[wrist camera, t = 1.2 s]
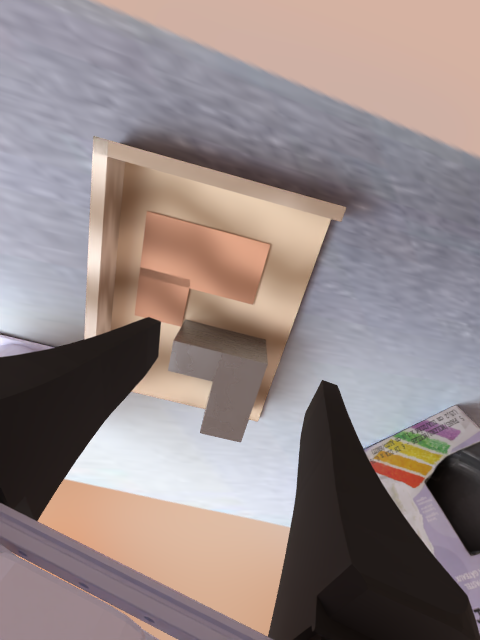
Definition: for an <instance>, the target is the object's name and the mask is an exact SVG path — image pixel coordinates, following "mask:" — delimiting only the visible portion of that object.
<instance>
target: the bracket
mask: <svg viewBox="0 0 480 640" xmlns="http://www.w3.org/2000/svg"><path fill="white" fill-rule="evenodd" d="M267 365H268V360H267V347H266V339H262V338H258V337H254V336H250V335H246V334H242V333H238V332H234V331H230V330H226V329H222V328H218V327H214V326H210V325H206V324H202V323H198V322H194V321H190V320H186V319H185V321H184V323H183V325H182V326H181V328H180V330H179V332H178V333H177V335H176V337H175V339H174V340H173V345H172V351H171V356H170V362H169V367H168V371H171V372H175V373H179V374H183V375H187V376H191V377H196V378H200V379H204V380H208V381H212V385H211V389H210V393H209V397H208V400H207V404H206V409H205V413H204V417H203V421H202V426H201V430H200V433H202V434H206V435H211V436H215V437H219V438H224V439H228V440H232V441H237V442H241V440H242V438H243V435H244V432H245V429H246V426H247V423H248V420H249V417H250V414H251V411H252V408H253V406H254V403H255V400H256V397H257V394H258V391H259V388H260V385H261V382H262V379H263V377H264V374H265V371H266V368H267Z"/></svg>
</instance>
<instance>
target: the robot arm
mask: <svg viewBox="0 0 480 640" xmlns="http://www.w3.org/2000/svg"><path fill="white" fill-rule="evenodd" d="M160 329H161V321H159V320H156V319H153V318H150V317H147V318H144V319H141V320H138V321H135V322H133V323H130V324H128V325H125V326H122V327H120V328H117V329H114V330H111V331H109V332H106V333H103V334H100V335H97V336H94V337H91V338H88V339H85V340H81V341H78V342H75V343H71V344H67V345H63V346H59V347H55V348H54V347H50V346H46V345H42V344H38V343H34V342H29V341H25V340H21V339H17V338H13V337H9V336H5V335H0V640H159V639H157V638H156V637H154V636H152V635H151V634H149V633H148V632H146V631H144V630H143V629H141V627H140V626H139V625H137V624H136V623H135V622H134V621H133V620H131V619H130V618H129V617H128V616H126V615H125V614H123V613H121V612H120V611H118V610H116V609H115V608H113V607H112V606H110V605H108V604H106V603H104V602H103V601H101V600H99V599H97V598H95V597H93V596H91V595H89V594H88V593H85V592H84V591H82V590H80V589H78V588H76V587H74V586H72V585H70V584H69V583H67V582H65V581H63V580H61V579H59V578H57V577H55V576H53V575H51V574H49V573H48V572H46V571H44V570H42V569H40V568H38V567H36V566H34V565H32V564H30V563H29V562H27V561H25V560H23V559H21V558H19V557H17V556H16V555H18V556H20V557H22V558H24V559H26V560H28V561H30V562H32V563H33V564H35V565H37V566H39V567H41V568H43V569H45V570H47V571H49V572H51V573H52V574H55V575H57V576H58V577H60V578H62V579H64V580H66V581H68V582H70V583H72V584H73V585H75V586H77V587H79V588H81V589H83V590H85V591H87V592H89V593H91V594H93V595H94V596H96V597H98V598H100V599H102V600H104V601H106V602H108V603H110V604H111V605H114V606H115V607H117V608H119V609H121V610H123V611H125V612H127V613H129V614H130V615H132V616H134V617H136V618H138V619H140V620H142V621H144V622H146V623H148V624H150V625H152V626H153V627H155V628H157V629H159V630H161V631H163V632H165V633H167V634H169V635H170V636H173V637H174V638H176V639H178V640H480V633H479V630H478V626H477V622H476V619H475V616H474V613H473V610H472V607H471V604H470V601H469V598H468V596H467V594H466V593H465V592H464V591H463V590H462V588H461V587H460V586H459V585H458V584H457V582H456V581H455V580H454V579H453V578H452V577H451V575H450V574H449V573H448V572H447V571H446V569H445V568H444V567H443V566H442V565H441V564H440V562H439V561H438V560H437V559H436V558H435V556H434V555H433V554H432V553H431V551H430V550H429V549H428V548H427V546H426V545H425V544H424V542H423V541H422V540H421V538H420V537H419V536H418V535H417V533H416V532H415V531H414V529H413V528H412V527H411V525H410V524H409V522H408V521H407V520H406V518H405V517H404V515H403V514H402V513H401V511H400V510H399V508H398V507H397V505H396V504H395V502H394V501H393V499H392V498H391V496H390V495H389V493H388V492H387V490H386V488H385V487H384V485H383V484H382V482H381V480H380V479H379V477H378V475H377V473H376V472H375V470H374V468H373V467H372V465H371V463H370V461H369V459H368V457H367V455H366V453H365V451H364V449H363V447H362V445H361V443H360V441H359V439H358V436H357V434H356V432H355V430H354V427H353V425H352V423H351V420H350V418H349V415H348V413H347V410H346V407H345V405H344V402H343V399H342V397H341V394H340V391H339V388H338V386H337V385H335V384H332V383H329V382H326V381H324V380H322V381H321V383H320V385H319V387H318V389H317V391H316V393H315V395H314V397H313V399H312V401H311V403H310V405H309V407H308V409H307V411H306V413H305V417H304V422H303V427H302V432H301V439H300V451H299V464H298V477H297V490H296V498H295V505H294V511H293V517H292V522H291V528H290V533H289V539H288V544H287V549H286V554H285V560H284V565H283V570H282V575H281V579H280V585H279V590H278V594H277V599H276V603H275V608H274V612H273V617H272V621H271V626H270V630H269V635H268V637H267V636H265V635H263V634H261V633H259V632H257V631H255V630H253V629H251V628H249V627H247V626H245V625H243V624H241V623H239V622H237V621H235V620H233V619H231V618H229V617H227V616H225V615H223V614H221V613H219V612H217V611H215V610H213V609H211V608H209V607H207V606H205V605H203V604H201V603H199V602H197V601H195V600H193V599H191V598H189V597H187V596H185V595H183V594H181V593H179V592H177V591H175V590H173V589H171V588H169V587H167V586H165V585H163V584H161V583H159V582H157V581H155V580H153V579H151V578H149V577H147V576H145V575H143V574H141V573H139V572H137V571H135V570H133V569H131V568H129V567H127V566H125V565H123V564H121V563H119V562H117V561H115V560H113V559H111V558H109V557H107V556H105V555H103V554H101V553H99V552H97V551H95V550H93V549H91V548H89V547H87V546H85V545H83V544H81V543H79V542H77V541H75V540H73V539H71V538H69V537H67V536H65V535H63V534H61V533H59V532H57V531H55V530H53V529H51V528H49V527H47V526H45V525H43V524H41V523H39V522H37V521H38V519H39V517H40V516H41V514H42V512H43V511H44V509H45V507H46V506H47V504H48V503H49V501H50V500H51V498H52V496H53V495H54V493H55V492H56V490H57V488H58V487H59V485H60V484H61V482H62V481H63V479H64V478H65V476H66V475H67V473H68V472H69V470H70V469H71V467H72V466H73V464H74V463H75V461H76V460H77V459H78V457H79V456H80V454H81V453H82V452H83V450H84V449H85V447H86V446H87V444H88V443H89V442H90V440H91V439H92V438H93V436H94V435H95V434H96V432H97V431H98V429H99V428H100V427H101V425H102V424H103V423H104V421H105V420H106V419H107V418H108V417H109V415H110V414H111V413H112V412H113V411H114V410H115V409H116V408H117V406H118V405H119V404H120V403H121V402H122V401H123V400H124V399H125V398H126V397H127V395H128V394H129V393H130V392H131V391H132V390H133V389H134V388H135V387H136V386H137V384H138V383H139V382H140V381H141V380H142V379H143V378H144V377H145V375H146V374H147V373H148V371H149V370H150V369H151V367H152V366H153V364H154V363H155V361H156V360H157V358H158V355H159V342H160ZM13 553H14V554H13ZM15 554H16V555H15Z"/></svg>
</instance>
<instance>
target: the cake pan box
mask: <svg viewBox="0 0 480 640" xmlns="http://www.w3.org/2000/svg"><path fill="white" fill-rule="evenodd" d="M364 451H365V453H366V455H367V457H368V459H369V461H370V463H371V465H372V467H373V468H374V470H375V472H376V473H377V475H378V477H379V479H380V480H381V482H382V484H383V485H384V487H385V488H386V490H387V492H388V493H389V495H390V496H391V498H392V499H393V501H394V502H395V504H396V505H397V507H398V508H399V510H400V511H401V513H402V514H403V515H404V517H405V518H406V520H407V521H408V522H409V524H410V525H411V527H412V528H413V529H414V531H415V532H416V533H417V535H418V536H419V537H420V538H421V540H422V541H423V542H424V544H425V545H426V546H427V548H428V549H429V550H430V551H431V553H432V554H433V555H434V556H435V558H436V559H437V560H438V561H439V562H440V564H441V565H442V566H443V567H444V568H445V569H446V571H447V572H448V573H449V574H450V575H451V577H452V578H453V579H454V580H455V581H456V582H457V584H458V585H459V586H460V587H461V588H462V590H463V591H464V592H465V593H466V594H467V596H468V598H469V601H470V604H471V607H472V610H473V613H474V616H475V619H476V622H477V626H478V630H479V633H480V427H478V426H477V425H476V424H475V423H474V422H473V421H472V420H471V419H470V418H469V417H468V416H467V415H466V414H465V413H464V412H463V411H462V410H461V409H460V408H459V407H458V406H456V405H455V406H453V407H451V408H448V409H447V410H444V411H442V412H440V413H438V414H436V415H434V416H432V417H430V418H428V419H426V420H424V421H422V422H420V423H418V424H416V425H414V426H412V427H410V428H408V429H406V430H403V431H401V432H399V433H397V434H395V435H393V436H391V437H389V438H387V439H385V440H383V441H381V442H379V443H377V444H375V445H373V446H371V447H369V448H367V449H365V450H364Z"/></svg>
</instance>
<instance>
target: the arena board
mask: <svg viewBox="0 0 480 640" xmlns="http://www.w3.org/2000/svg"><path fill="white" fill-rule="evenodd" d="M345 210H346V207H343V206H340V205H336V204H333V203H329V202H326V201H322V200H318V199H315V198H311V197H308V196H304V195H301V194H297V193H294V192H290V191H287V190H283V189H280V188H276V187H272V186H269V185H265V184H262V183H258V182H255V181H251V180H248V179H244V178H241V177H237V176H233V175H230V174H226V173H223V172H219V171H216V170H212V169H209V168H205V167H202V166H198V165H194V164H191V163H187V162H184V161H180V160H177V159H173V158H170V157H166V156H163V155H159V154H156V153H152V152H148V151H145V150H141V149H138V148H134V147H131V146H127V145H124V144H120V143H117V142H113V141H109V140H106V139H102V138H99V137H95V136H93V158H92V180H91V202H90V224H89V246H88V267H87V289H86V311H85V333H84V340H85V339H88V338H91V337H94V336H97V335H100V334H103V333H106V332H109V331H111V330H114V329H117V328H120V327H122V326H125V325H128V324H130V323H133V322H135V321H138V320H141V319H144V318H147V317H150V318H153V319H156V320H159V321H161V329H160V342H159V355H158V358H157V360H156V361H155V363H154V364H153V366H152V367H151V369H150V370H149V371H148V373H147V374H146V375H145V377H144V378H143V379H142V380H141V381H140V382H139V383H138V384H137V386H136V387H135V388H134V389H133V390H132V391H131V392H135V393H139V394H143V395H148V396H152V397H156V398H160V399H165V400H169V401H173V402H177V403H182V404H186V405H190V406H194V407H198V408H203V409H206V404H207V400H208V397H209V393H210V389H211V385H212V381H208V380H204V379H200V378H196V377H191V376H187V375H183V374H179V373H175V372H171V371H168V367H169V362H170V356H171V351H172V345H173V340H174V339H175V337H176V335H177V333H178V332H179V330H180V328H181V326H182V325H183V323H184V321H185V319H186V320H190V321H194V322H198V323H202V324H206V325H210V326H214V327H218V328H222V329H226V330H230V331H234V332H238V333H242V334H246V335H250V336H254V337H258V338H262V339H266V347H267V360H268V365H267V368H266V371H265V374H264V377H263V379H262V382H261V385H260V388H259V391H258V394H257V397H256V400H255V403H254V406H253V408H252V411H251V414H250V417H249V420H253V421H258V420H259V417H260V414H261V411H262V409H263V406H264V403H265V400H266V398H267V395H268V392H269V389H270V386H271V384H272V381H273V378H274V375H275V373H276V370H277V367H278V364H279V362H280V359H281V356H282V353H283V351H284V348H285V345H286V342H287V339H288V337H289V334H290V331H291V328H292V326H293V323H294V320H295V317H296V315H297V312H298V309H299V306H300V303H301V301H302V298H303V295H304V292H305V290H306V287H307V284H308V281H309V279H310V276H311V273H312V270H313V268H314V265H315V262H316V259H317V256H318V254H319V251H320V248H321V245H322V243H323V240H324V237H325V234H326V232H327V229H328V226H329V223H330V220H331V219H333V220H336V221H340V222H341V221H342V218H343V215H344V213H345Z"/></svg>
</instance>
